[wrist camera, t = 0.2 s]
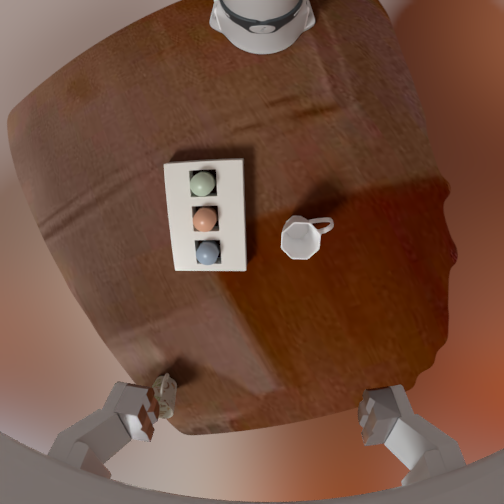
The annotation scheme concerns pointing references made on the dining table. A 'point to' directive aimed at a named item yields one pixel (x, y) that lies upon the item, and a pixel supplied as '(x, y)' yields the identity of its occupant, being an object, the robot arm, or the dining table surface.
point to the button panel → (226, 199)
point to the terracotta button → (205, 218)
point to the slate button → (208, 252)
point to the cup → (302, 236)
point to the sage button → (202, 183)
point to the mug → (165, 395)
